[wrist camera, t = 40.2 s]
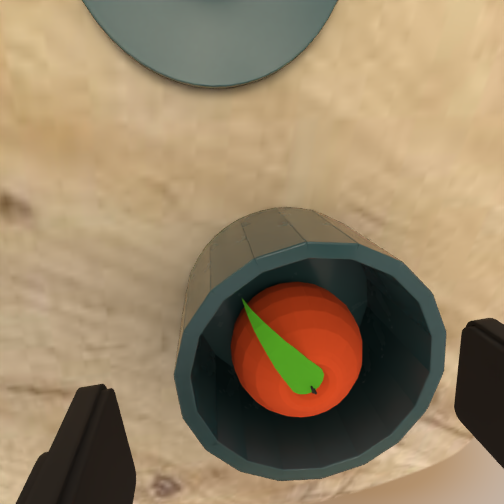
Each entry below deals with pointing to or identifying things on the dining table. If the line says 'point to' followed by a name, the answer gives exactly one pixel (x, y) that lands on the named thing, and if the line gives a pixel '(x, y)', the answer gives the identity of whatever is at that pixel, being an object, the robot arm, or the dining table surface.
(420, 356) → the pot
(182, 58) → the pot lid
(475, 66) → the dining table surface
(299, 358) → the clementine
